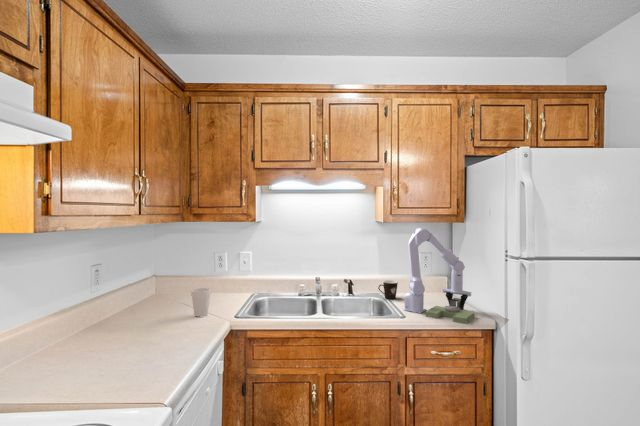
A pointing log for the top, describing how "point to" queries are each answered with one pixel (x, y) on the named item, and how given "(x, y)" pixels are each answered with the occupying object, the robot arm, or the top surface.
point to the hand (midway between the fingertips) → (456, 307)
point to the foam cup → (200, 301)
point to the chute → (453, 303)
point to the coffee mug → (389, 289)
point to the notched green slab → (451, 313)
